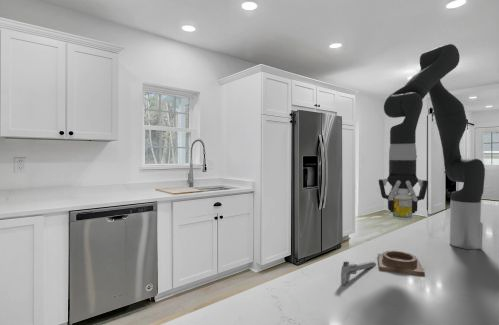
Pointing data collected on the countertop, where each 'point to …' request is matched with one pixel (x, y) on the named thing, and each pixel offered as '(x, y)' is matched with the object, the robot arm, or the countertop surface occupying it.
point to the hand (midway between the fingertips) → (402, 212)
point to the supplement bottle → (402, 205)
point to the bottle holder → (400, 262)
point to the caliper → (353, 270)
